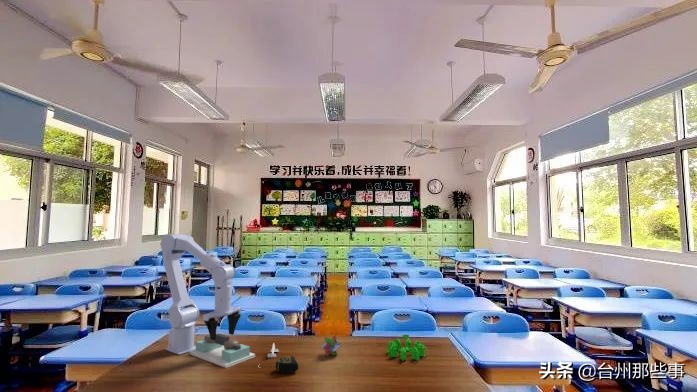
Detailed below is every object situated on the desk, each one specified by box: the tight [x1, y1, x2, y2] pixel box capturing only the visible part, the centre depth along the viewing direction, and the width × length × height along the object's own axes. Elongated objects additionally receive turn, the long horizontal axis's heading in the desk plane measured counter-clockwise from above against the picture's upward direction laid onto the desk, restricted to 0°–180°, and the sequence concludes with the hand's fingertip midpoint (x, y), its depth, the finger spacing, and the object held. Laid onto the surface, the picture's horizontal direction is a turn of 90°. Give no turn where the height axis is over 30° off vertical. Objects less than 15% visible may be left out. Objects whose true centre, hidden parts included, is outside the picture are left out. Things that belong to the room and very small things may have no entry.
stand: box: [189, 338, 256, 369], centre depth 129 cm, size 22×12×4 cm, turn 54°
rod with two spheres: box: [204, 333, 241, 350], centre depth 129 cm, size 20×5×3 cm, turn 54°
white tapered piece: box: [257, 342, 280, 368], centre depth 125 cm, size 15×7×4 cm, turn 1°
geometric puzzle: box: [320, 335, 342, 358], centre depth 129 cm, size 7×7×8 cm
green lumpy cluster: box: [385, 334, 428, 362], centre depth 129 cm, size 15×15×7 cm
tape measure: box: [275, 355, 299, 374], centre depth 115 cm, size 7×7×4 cm
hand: (222, 336), depth 129 cm, fingers open, 7 cm apart
